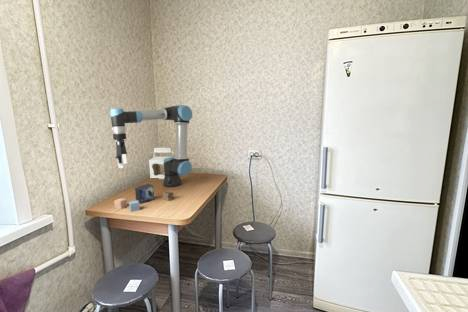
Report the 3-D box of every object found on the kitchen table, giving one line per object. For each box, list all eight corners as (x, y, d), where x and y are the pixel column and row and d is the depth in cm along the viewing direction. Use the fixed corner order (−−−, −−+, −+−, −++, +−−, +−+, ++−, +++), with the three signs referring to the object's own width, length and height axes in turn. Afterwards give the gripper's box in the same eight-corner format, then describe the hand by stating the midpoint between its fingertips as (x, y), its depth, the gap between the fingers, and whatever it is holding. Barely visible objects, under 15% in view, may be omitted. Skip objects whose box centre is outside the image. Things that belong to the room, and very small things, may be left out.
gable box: (178, 175, 236) (176, 146, 232) (172, 179, 224) (170, 148, 219) (156, 175, 240) (154, 146, 235) (150, 178, 227) (147, 148, 222)
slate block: (138, 207, 156) (137, 200, 156) (139, 210, 152) (139, 202, 151) (129, 209, 154) (129, 201, 153) (131, 212, 150) (130, 204, 149)
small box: (140, 204, 162) (139, 188, 160) (135, 202, 166) (134, 187, 165) (154, 199, 170) (153, 185, 168) (149, 197, 174) (148, 183, 173)
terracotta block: (120, 205, 161) (120, 198, 160) (127, 206, 159) (126, 198, 158) (114, 208, 156) (114, 200, 155) (121, 209, 155) (120, 201, 154)
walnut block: (169, 197, 173) (168, 191, 173) (173, 199, 171) (173, 192, 170) (163, 200, 169) (162, 193, 168) (168, 201, 167) (167, 194, 166)
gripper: (116, 132, 167) (120, 162, 171) (108, 135, 143) (112, 170, 147) (128, 131, 169) (132, 161, 173) (122, 134, 145) (126, 169, 149)
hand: (123, 165), depth 160 cm, fingers open, 13 cm apart
